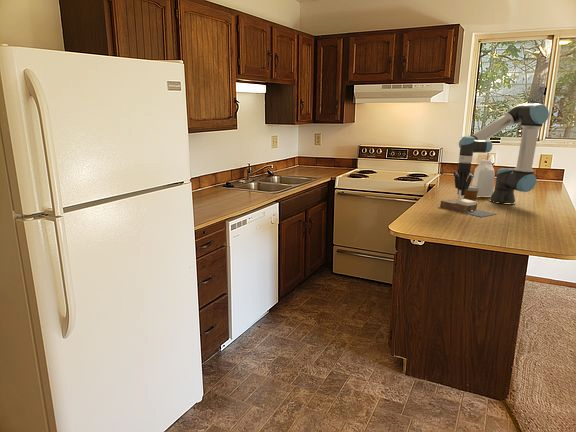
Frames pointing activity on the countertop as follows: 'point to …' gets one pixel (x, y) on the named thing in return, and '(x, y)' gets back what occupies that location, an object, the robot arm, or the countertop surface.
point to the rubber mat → (479, 213)
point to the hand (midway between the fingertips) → (459, 200)
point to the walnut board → (456, 206)
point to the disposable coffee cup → (471, 193)
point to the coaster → (466, 202)
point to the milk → (484, 178)
